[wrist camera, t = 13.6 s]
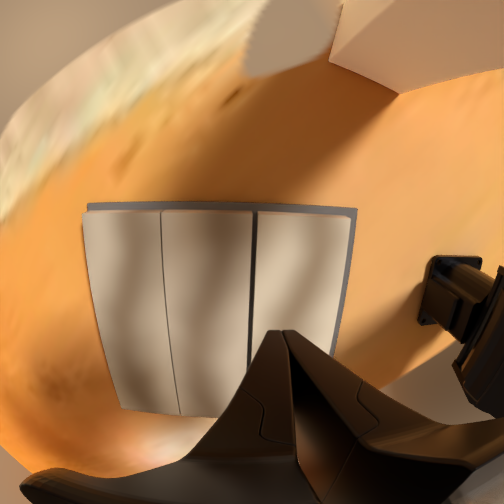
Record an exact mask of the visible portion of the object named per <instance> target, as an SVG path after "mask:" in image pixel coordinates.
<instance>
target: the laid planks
mask: <svg viewBox="0 0 504 504" xmlns="http://www.w3.org/2000/svg"><path fill="white" fill-rule="evenodd" d="M252 217H253V214H252V211H240V210H92V211H87V212H85V213H83V214H82V222H83V233H84V243H85V251H86V259H87V267H88V273H89V280H90V286H91V292H92V297H93V303H94V308H95V313H96V318H97V323H98V327H99V331H100V336H101V340H102V344H103V348H104V352H105V356H106V359H107V363H108V367H109V370H110V374H111V377H112V380H113V384H114V387H115V390H116V393H117V396H118V399H119V402H120V405H121V408H122V409H127V410H134V411H141V412H149V413H157V414H167V415H178V416H180V414H181V416H191V417H209V418H219V417H220V416H221V414H222V413H223V412H224V410H225V409H226V408H227V406H228V404H229V403H230V401H231V399H232V398H233V396H234V394H235V392H236V390H237V389H238V387H239V385H240V383H241V381H242V379H243V377H244V375H245V374H246V367H247V342H248V317H249V291H250V267H251V242H252Z"/></svg>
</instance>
